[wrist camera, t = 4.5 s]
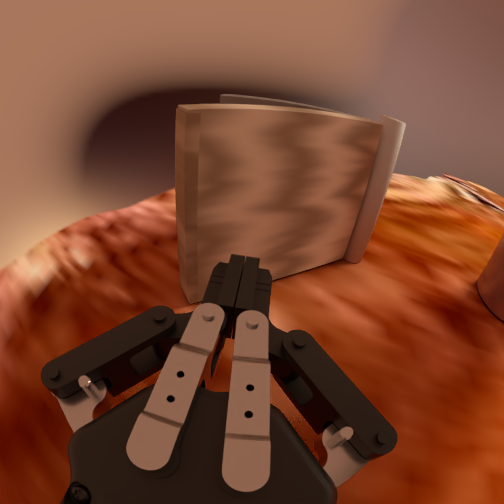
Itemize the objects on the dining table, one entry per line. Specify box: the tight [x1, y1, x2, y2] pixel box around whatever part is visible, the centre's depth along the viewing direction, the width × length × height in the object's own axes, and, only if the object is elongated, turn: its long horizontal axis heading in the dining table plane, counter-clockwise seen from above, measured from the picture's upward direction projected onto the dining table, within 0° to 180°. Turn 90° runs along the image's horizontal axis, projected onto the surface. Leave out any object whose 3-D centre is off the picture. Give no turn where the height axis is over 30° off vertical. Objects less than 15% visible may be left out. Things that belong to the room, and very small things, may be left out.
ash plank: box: [175, 104, 383, 304], centre depth 21 cm, size 16×2×14 cm, turn 118°
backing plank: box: [220, 94, 406, 263], centre depth 26 cm, size 17×5×15 cm, turn 83°
